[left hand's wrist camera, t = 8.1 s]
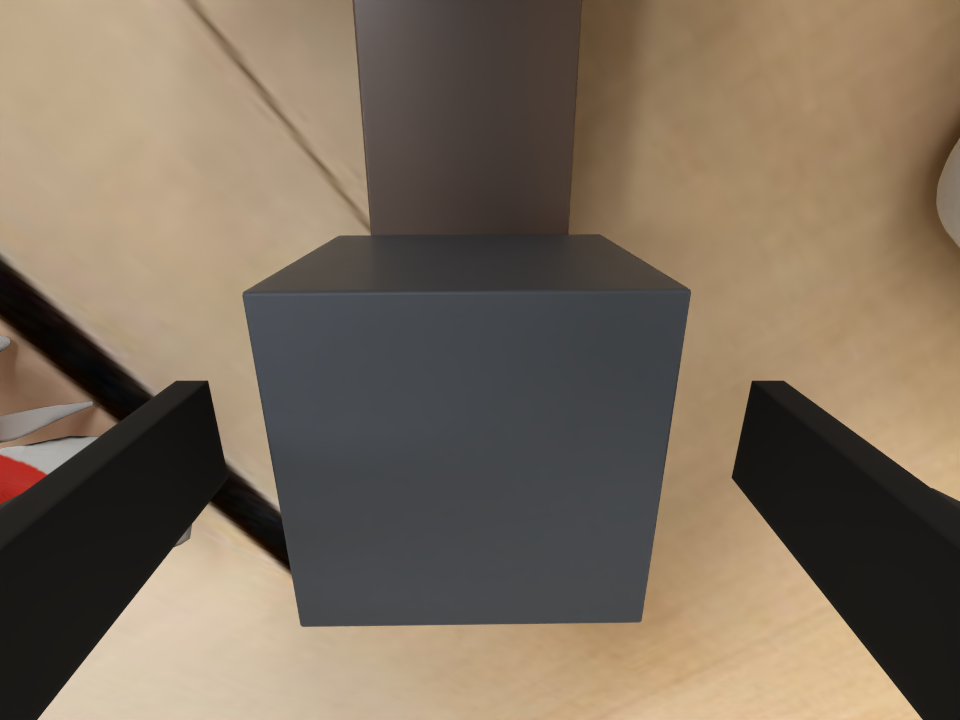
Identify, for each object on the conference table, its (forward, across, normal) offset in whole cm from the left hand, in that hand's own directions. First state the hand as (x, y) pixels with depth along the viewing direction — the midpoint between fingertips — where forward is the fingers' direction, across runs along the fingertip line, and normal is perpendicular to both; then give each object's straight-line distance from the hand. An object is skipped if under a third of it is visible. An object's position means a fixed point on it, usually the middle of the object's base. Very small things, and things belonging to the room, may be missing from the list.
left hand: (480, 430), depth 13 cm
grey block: (+5, 0, 0) cm, 5 cm away
